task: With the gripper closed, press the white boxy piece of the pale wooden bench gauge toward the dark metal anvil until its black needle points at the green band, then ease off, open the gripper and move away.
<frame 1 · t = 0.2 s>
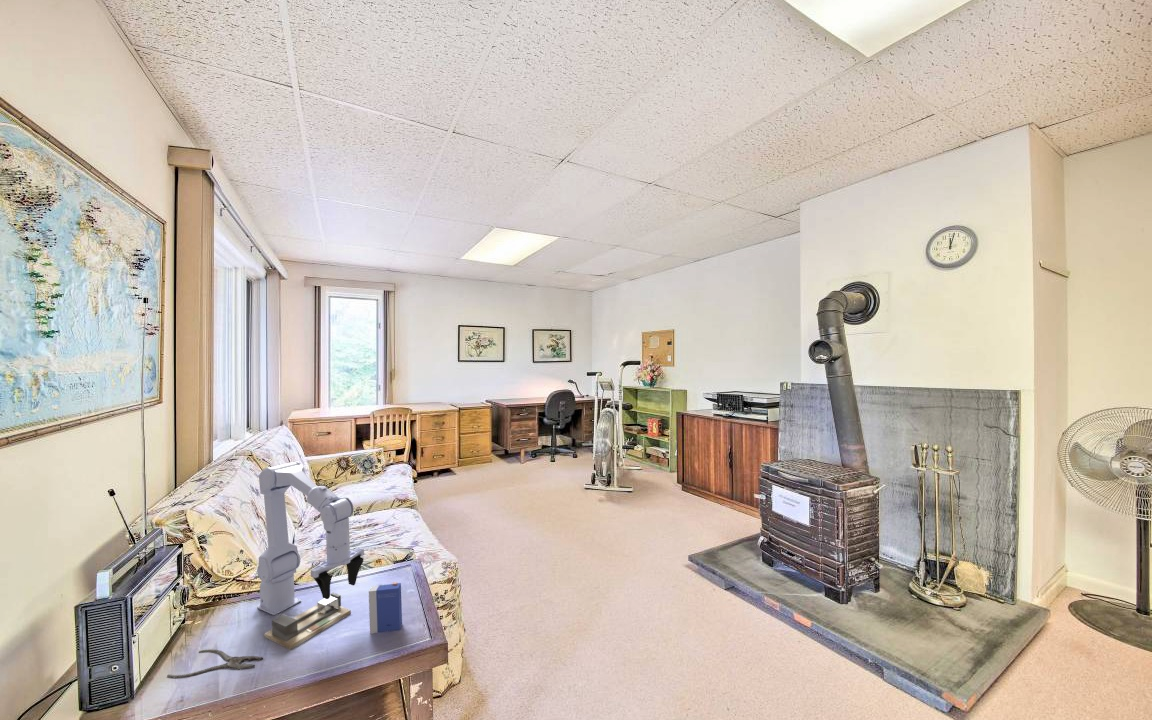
hand: (339, 590, 119), 10 cm above the table, tool pointing down, fingers open, 7 cm apart
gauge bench: (309, 624, 120), on the table
pliers: (223, 662, 107), on the table
walkman: (386, 629, 117), on the table
white boxy piece: (332, 604, 124), point 3 cm above the table, slide at 0.0 cm
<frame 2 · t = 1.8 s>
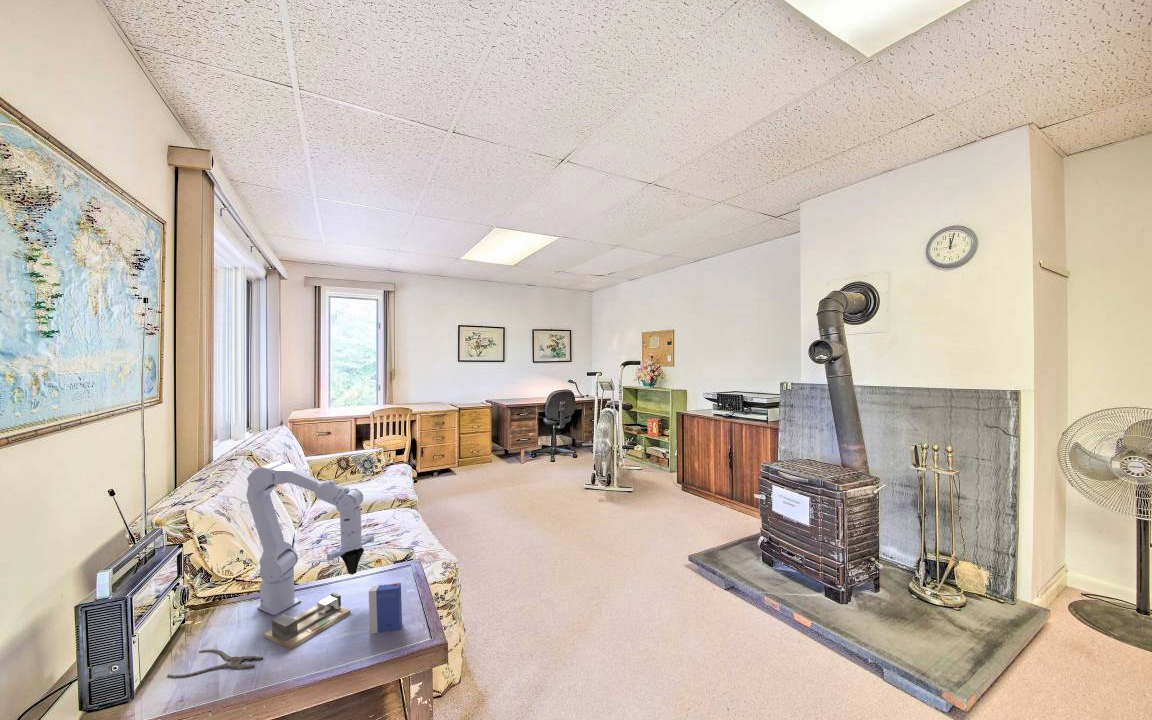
hand: (352, 573, 132), 8 cm above the table, tool pointing down, fingers closed
nothing on the table moved.
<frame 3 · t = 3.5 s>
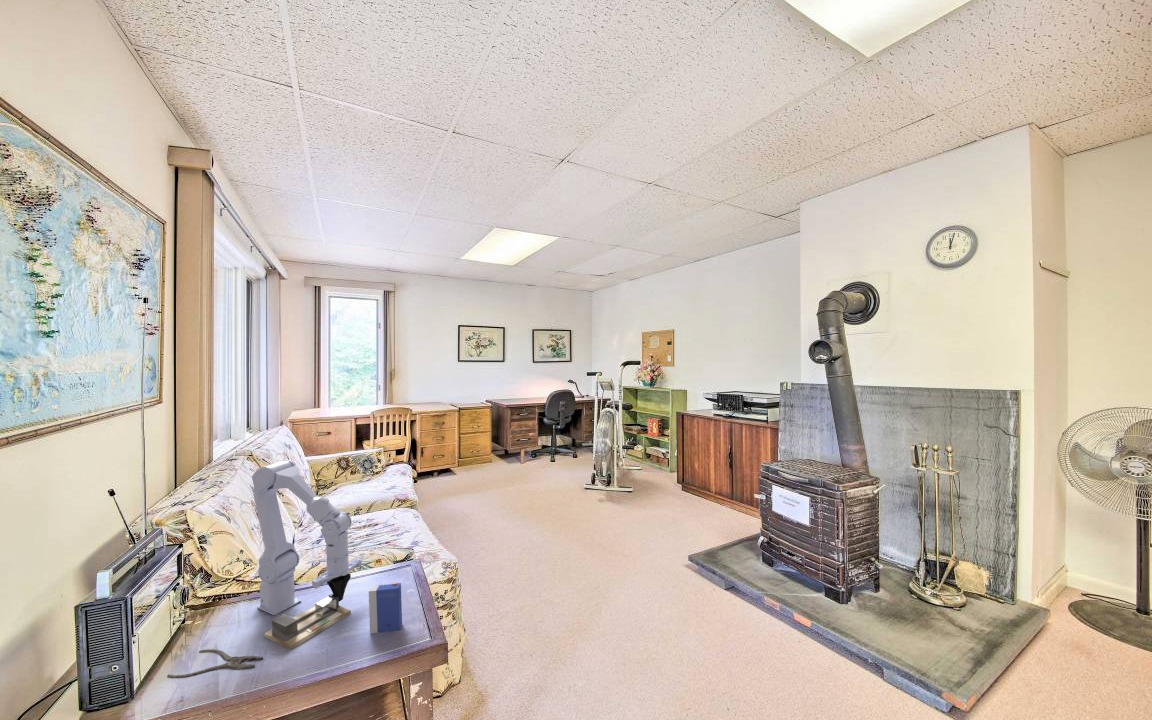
hand: (338, 599, 128), 2 cm above the table, tool pointing down, fingers closed
white boxy piece: (330, 605, 124), point 3 cm above the table, slide at 0.7 cm, touching gripper
everything else where it was.
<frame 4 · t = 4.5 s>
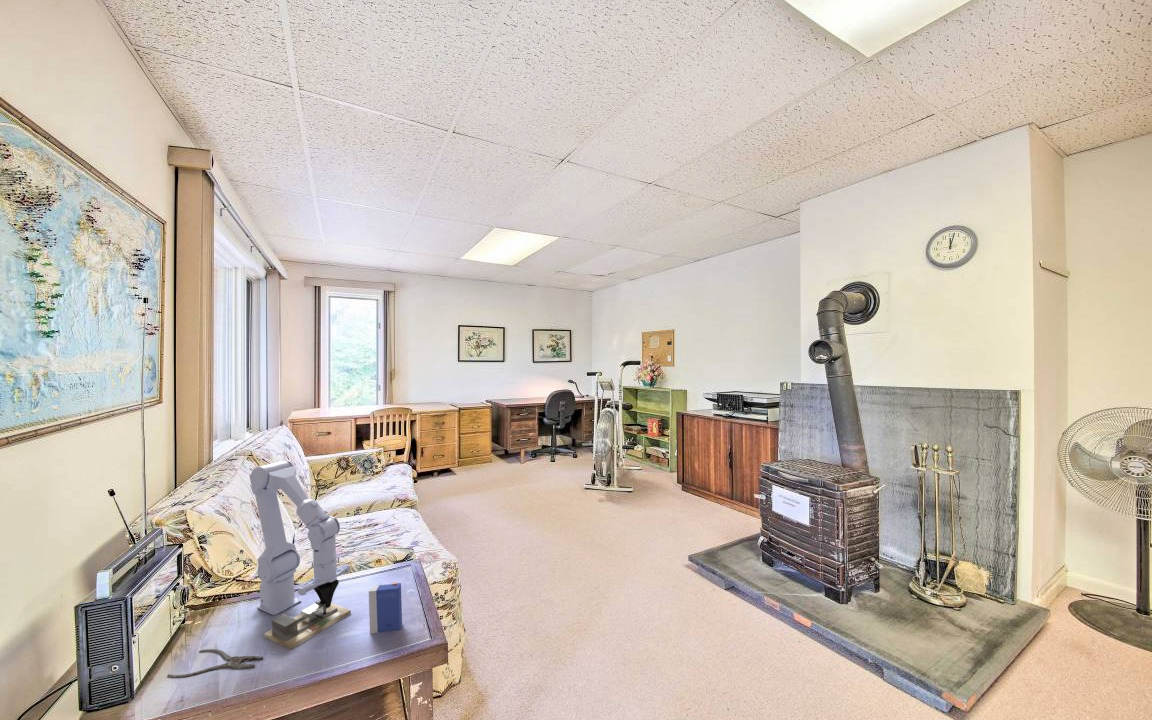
hand: (326, 606, 124), 2 cm above the table, tool pointing down, fingers closed
white boxy piece: (317, 613, 120), point 3 cm above the table, slide at 4.5 cm, touching gripper
everything else where it was.
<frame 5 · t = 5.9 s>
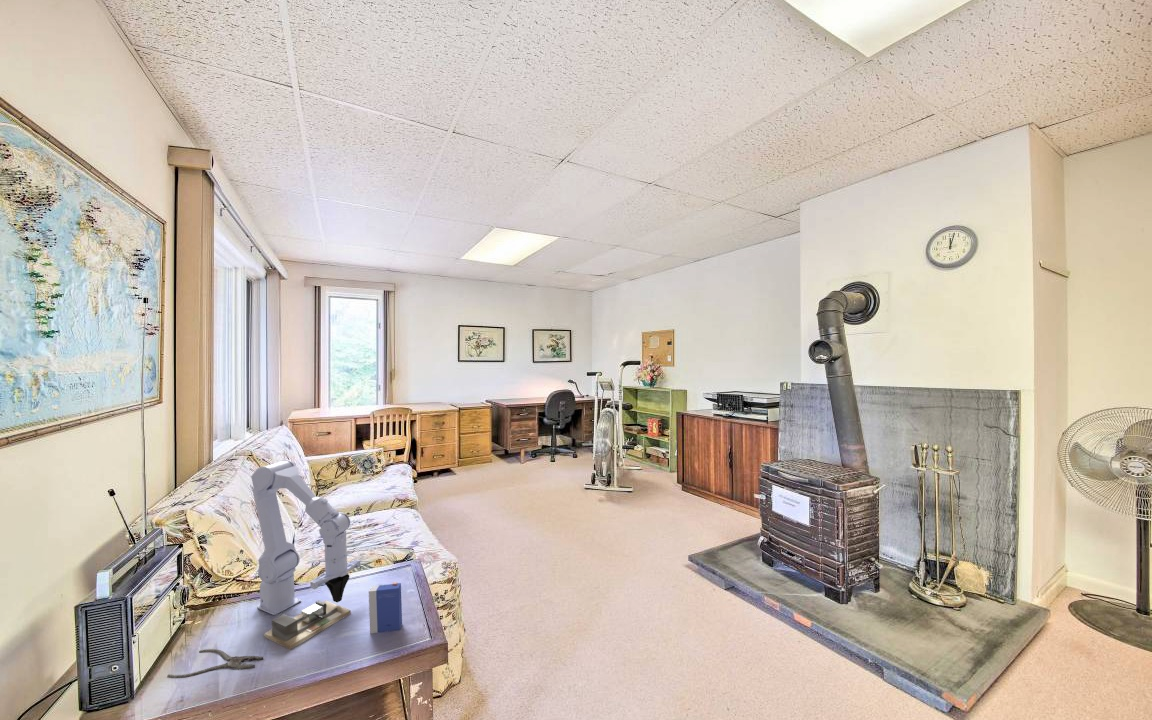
hand: (337, 600, 127), 2 cm above the table, tool pointing down, fingers closed
white boxy piece: (317, 613, 120), point 3 cm above the table, slide at 4.5 cm
everything else where it was.
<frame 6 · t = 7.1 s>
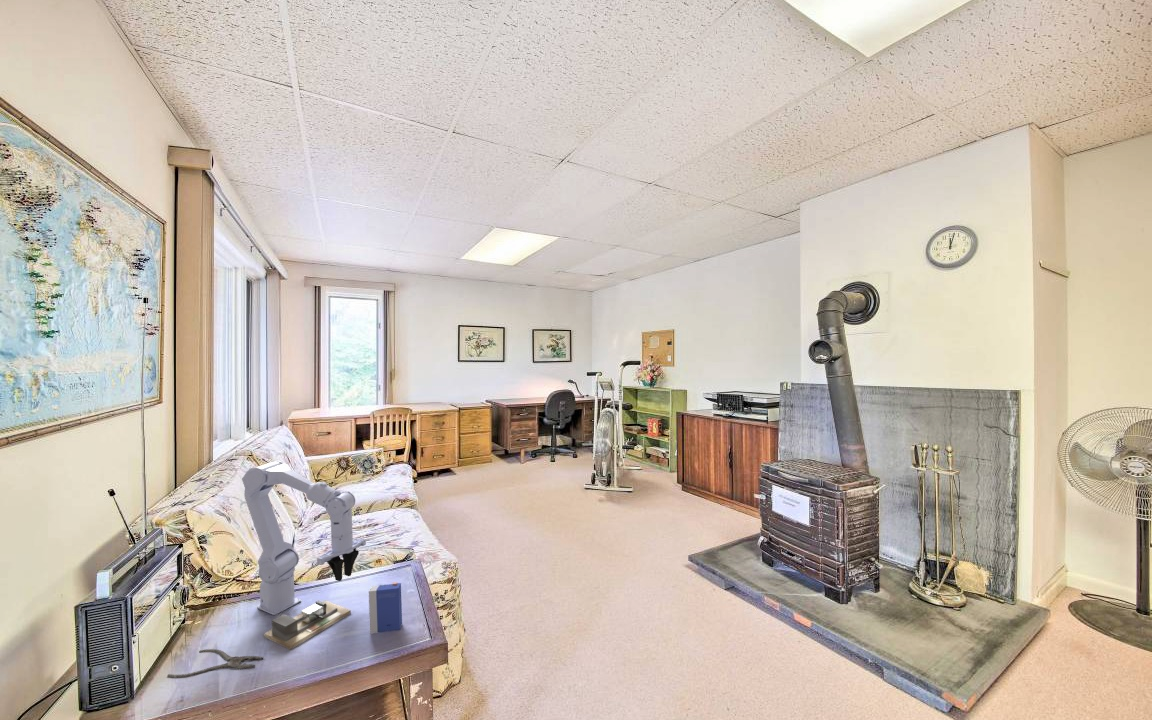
hand: (343, 577, 129), 8 cm above the table, tool pointing down, fingers closed
nothing on the table moved.
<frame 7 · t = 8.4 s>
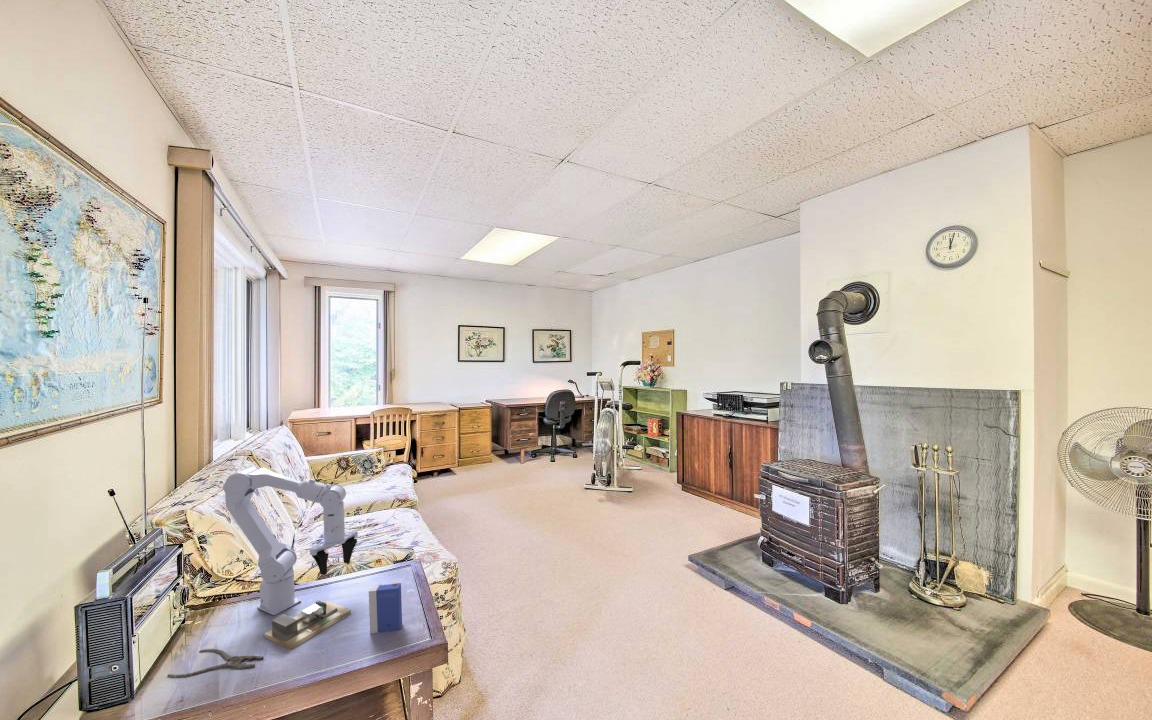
hand: (335, 568, 133), 9 cm above the table, tool pointing down, fingers open, 7 cm apart
nothing on the table moved.
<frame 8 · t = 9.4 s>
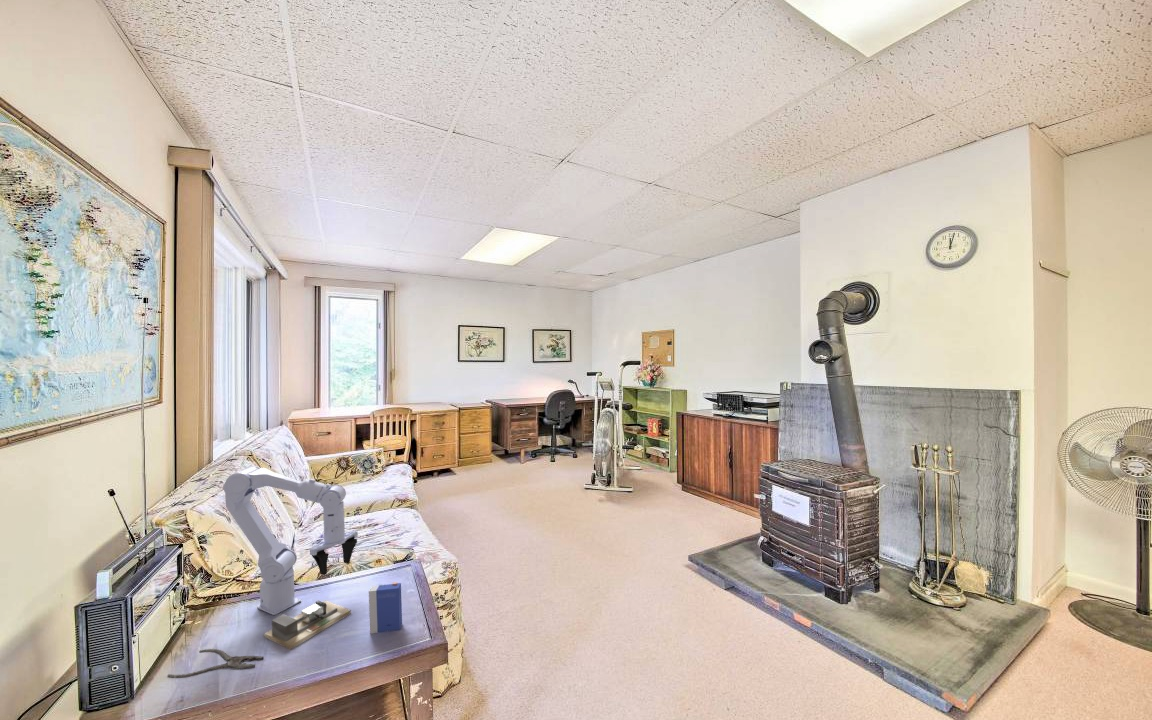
hand: (335, 568, 133), 9 cm above the table, tool pointing down, fingers open, 7 cm apart
nothing on the table moved.
at the end: white boxy piece slide at 4.5 cm; pliers moved 0.6 cm from its start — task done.
